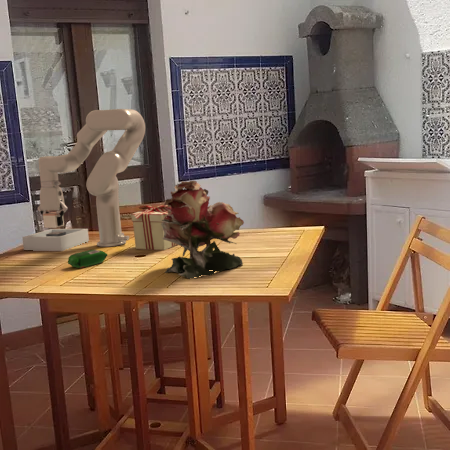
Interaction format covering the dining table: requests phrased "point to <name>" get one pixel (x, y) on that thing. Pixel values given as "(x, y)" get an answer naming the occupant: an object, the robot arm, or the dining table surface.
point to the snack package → (86, 258)
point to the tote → (55, 240)
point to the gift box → (150, 228)
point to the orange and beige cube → (51, 220)
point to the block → (55, 234)
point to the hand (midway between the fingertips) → (54, 225)
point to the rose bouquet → (199, 231)
